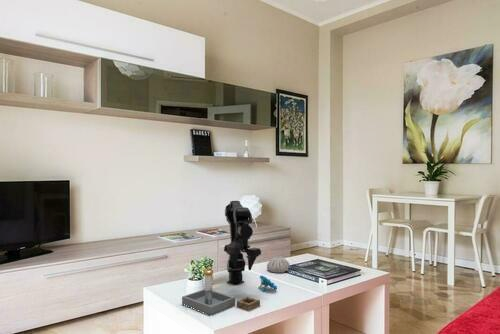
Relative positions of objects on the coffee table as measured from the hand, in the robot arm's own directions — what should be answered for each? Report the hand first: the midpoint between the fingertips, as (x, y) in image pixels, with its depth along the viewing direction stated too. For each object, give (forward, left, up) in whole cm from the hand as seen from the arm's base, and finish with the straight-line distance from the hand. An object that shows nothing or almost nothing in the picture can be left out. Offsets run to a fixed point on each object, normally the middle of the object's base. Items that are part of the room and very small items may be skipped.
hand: (242, 268), depth 165 cm
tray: (-2, -19, -12) cm, 23 cm away
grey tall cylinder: (-2, -19, -11) cm, 23 cm away
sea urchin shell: (-10, +43, -12) cm, 45 cm away
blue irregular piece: (+5, +12, -12) cm, 18 cm away
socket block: (+12, -9, -12) cm, 19 cm away
